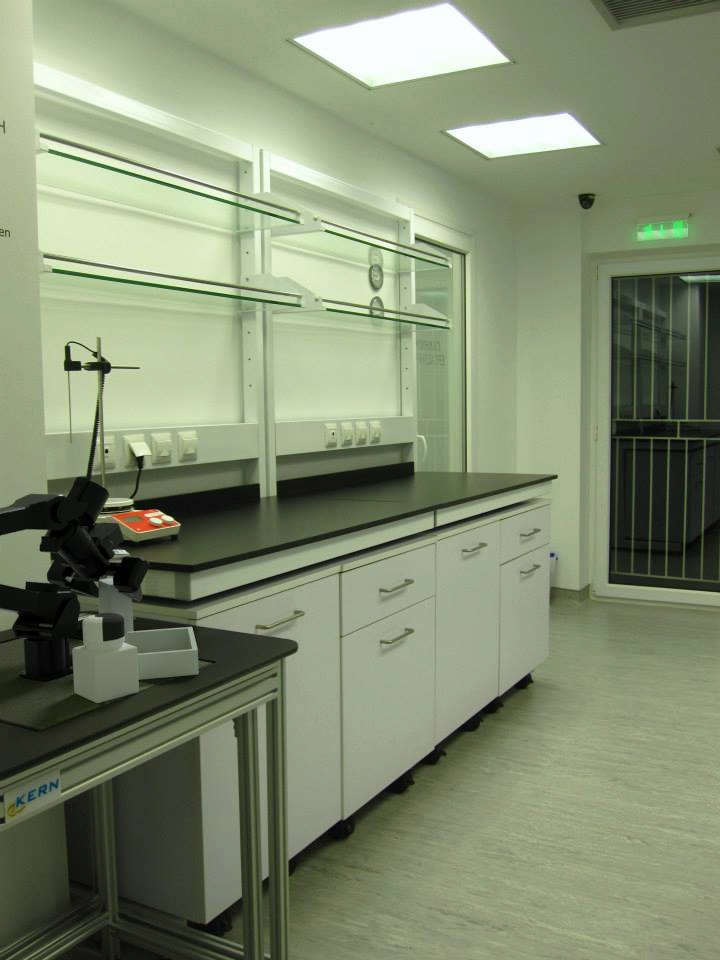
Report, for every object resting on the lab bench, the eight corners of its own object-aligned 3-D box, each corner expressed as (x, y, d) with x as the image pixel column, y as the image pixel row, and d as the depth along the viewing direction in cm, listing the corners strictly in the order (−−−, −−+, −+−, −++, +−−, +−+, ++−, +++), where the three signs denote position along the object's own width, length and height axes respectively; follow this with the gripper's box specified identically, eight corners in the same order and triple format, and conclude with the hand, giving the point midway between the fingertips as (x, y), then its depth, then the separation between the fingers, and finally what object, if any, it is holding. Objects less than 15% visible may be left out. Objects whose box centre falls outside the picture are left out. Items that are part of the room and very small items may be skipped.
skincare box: (100, 644, 164) (97, 579, 163) (122, 640, 167) (119, 576, 166) (112, 651, 159) (109, 584, 158) (135, 647, 162) (132, 581, 161)
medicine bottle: (115, 682, 141) (112, 607, 140) (139, 692, 136) (136, 614, 135) (73, 693, 136) (69, 615, 135) (96, 704, 131) (92, 623, 130)
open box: (127, 680, 142) (126, 655, 142) (128, 654, 157) (127, 631, 157) (198, 674, 145) (197, 650, 144) (192, 648, 160) (192, 626, 159)
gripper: (141, 511, 154) (180, 563, 165) (54, 507, 161) (97, 558, 172) (113, 564, 147) (156, 615, 158) (24, 558, 154) (71, 608, 165)
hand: (120, 597), depth 164 cm, fingers open, 9 cm apart
